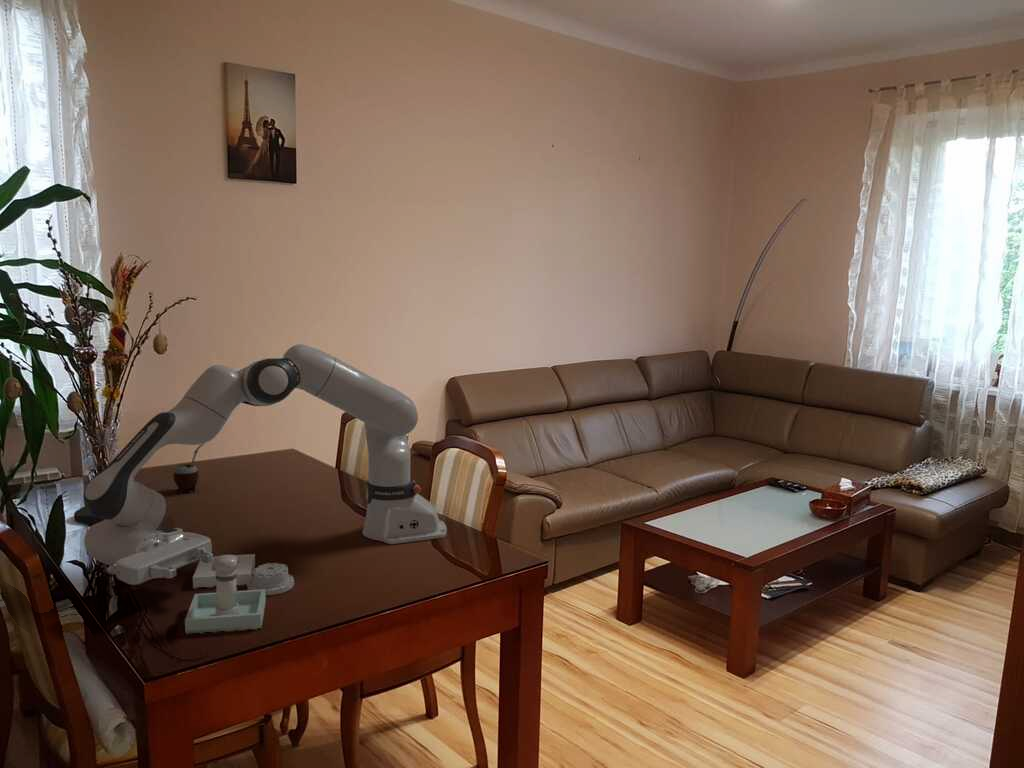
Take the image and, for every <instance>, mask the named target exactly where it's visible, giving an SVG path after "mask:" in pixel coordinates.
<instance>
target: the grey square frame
mask: <svg viewBox="0 0 1024 768" xmlns="http://www.w3.org/2000/svg"><path fill="white" fill-rule="evenodd" d="M234 555H235V556H236V557H237V569H236V585H237V586H247V582H248V581H249V580H250V579H251V578H253V576H252V575H253V571H254V568H256V554H255V553H252V554H234ZM218 556H219V555H217V556H216V555H215V556H214V555H213V561H210V562H208V563H205V562H202V559H199V560H198V564H197V566H196V569H195V570H194V571H195V572H194V573H193V576H192V589H199V588H198V587H207V588H215V587H214V586H216V571H214V559H215V558H216V557H218ZM244 584H245V585H244ZM196 587H197V588H196Z"/></svg>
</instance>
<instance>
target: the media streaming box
mask: <svg viewBox="0 0 1024 768" xmlns="http://www.w3.org/2000/svg"><path fill="white" fill-rule="evenodd" d="M73 516H74V518H73V520H74V522H75V523H77V524H86V525H94V524H97V523H99V522H102V521H103V520H105V519H102V518H99V517H96V516H93V515H91V514H89V513H88V512H87V510H86V508H85V505H84V506H82V507H81V508H79V509H76V511H74V513H73Z"/></svg>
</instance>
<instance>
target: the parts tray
mask: <svg viewBox="0 0 1024 768" xmlns="http://www.w3.org/2000/svg"><path fill="white" fill-rule="evenodd" d="M266 596H267V595H266V592H265V589H261V590H248V589H247V590H237V602H238V604H239V614H236V615H222V616H216V605H217V592H205V593H194V596H193V598H192V601H191V603H190V606H189V609H188V611H187V613H186V617H185V619H184V629H185V630H184V631H185V632H184V633H185V634H187V635H190V634H189V633H200V634H205V633H204V632H213V633H220V632H219V631H225V632H235V631H236V630H238V631H246V630H247V629H251V630H259V629H258V628H261V629H262V627H261V626H263V619H264V614H265V610H264V609H265V608H266V604H265V603H266V599H267V598H266ZM217 631H218V632H217ZM247 631H248V630H247ZM236 632H237V631H236Z"/></svg>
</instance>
